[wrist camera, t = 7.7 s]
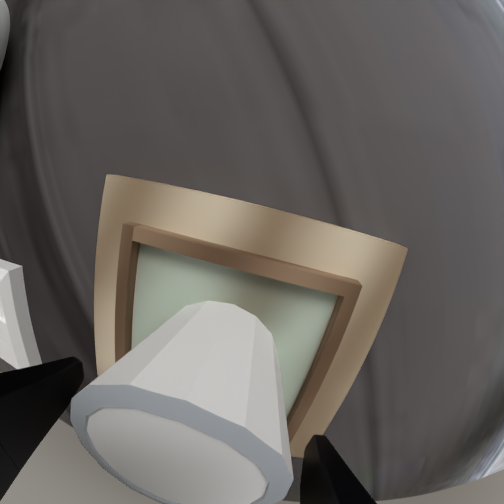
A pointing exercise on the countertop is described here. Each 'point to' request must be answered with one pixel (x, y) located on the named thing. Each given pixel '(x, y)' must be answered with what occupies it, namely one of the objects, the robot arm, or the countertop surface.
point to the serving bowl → (4, 29)
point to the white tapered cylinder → (193, 412)
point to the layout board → (244, 285)
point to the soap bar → (15, 319)
